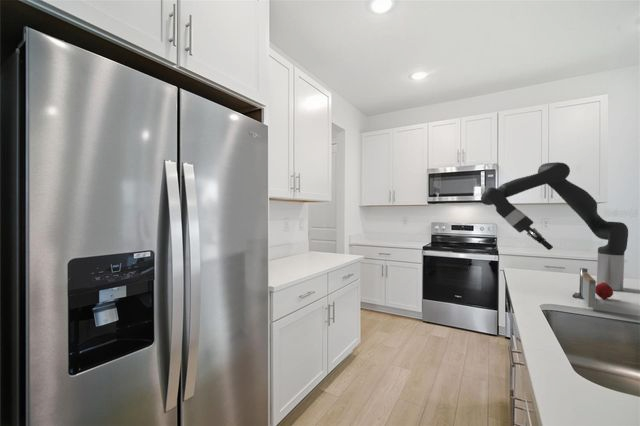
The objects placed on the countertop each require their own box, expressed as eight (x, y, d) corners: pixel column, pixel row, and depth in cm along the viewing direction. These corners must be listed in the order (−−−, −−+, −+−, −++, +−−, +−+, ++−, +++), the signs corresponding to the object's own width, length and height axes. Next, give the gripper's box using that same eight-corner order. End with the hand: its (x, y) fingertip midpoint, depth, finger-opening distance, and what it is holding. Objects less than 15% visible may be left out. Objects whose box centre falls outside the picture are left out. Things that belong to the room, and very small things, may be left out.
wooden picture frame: (580, 295, 124) (581, 271, 124) (586, 296, 123) (587, 272, 123) (588, 307, 109) (589, 280, 109) (594, 308, 108) (595, 281, 108)
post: (575, 294, 129) (576, 266, 129) (593, 297, 125) (594, 268, 124) (572, 297, 125) (573, 268, 125) (591, 300, 121) (592, 270, 120)
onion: (616, 302, 119) (617, 283, 119) (600, 301, 121) (601, 282, 120) (605, 297, 125) (606, 279, 125) (590, 296, 126) (591, 279, 126)
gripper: (525, 215, 126) (560, 244, 119) (525, 214, 137) (557, 241, 129) (510, 226, 129) (543, 255, 122) (512, 225, 140) (543, 252, 133)
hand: (551, 248), depth 126 cm, fingers closed
